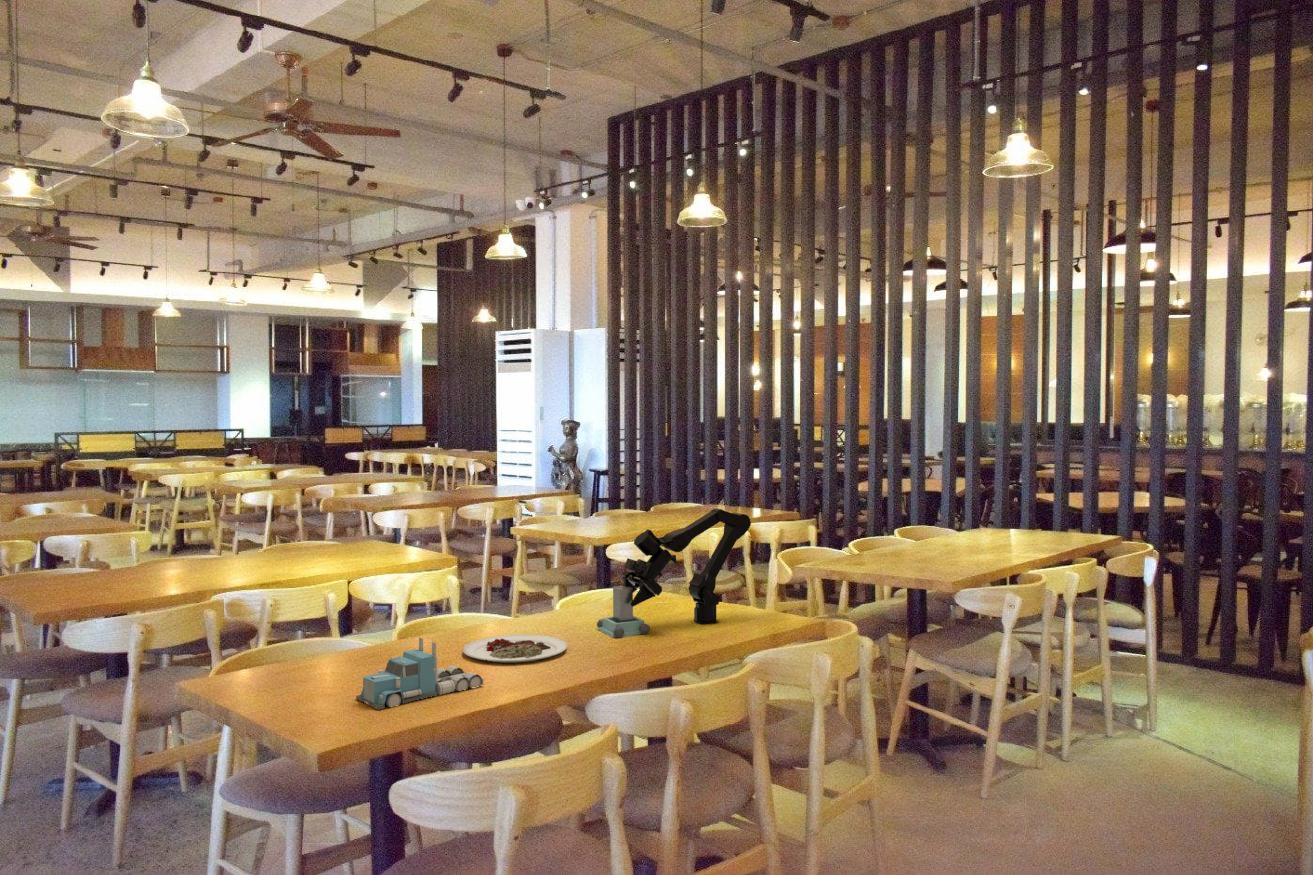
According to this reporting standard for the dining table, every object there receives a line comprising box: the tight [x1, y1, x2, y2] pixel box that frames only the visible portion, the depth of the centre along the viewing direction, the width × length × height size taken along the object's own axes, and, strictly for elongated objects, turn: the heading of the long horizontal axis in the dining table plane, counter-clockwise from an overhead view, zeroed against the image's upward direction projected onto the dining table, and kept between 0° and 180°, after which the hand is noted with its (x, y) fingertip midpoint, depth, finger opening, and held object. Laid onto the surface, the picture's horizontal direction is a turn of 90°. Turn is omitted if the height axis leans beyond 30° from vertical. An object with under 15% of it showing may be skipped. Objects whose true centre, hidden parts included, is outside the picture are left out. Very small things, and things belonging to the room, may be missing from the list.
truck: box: [355, 630, 484, 711], centre depth 238 cm, size 12×29×15 cm, turn 132°
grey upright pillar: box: [612, 585, 634, 623], centre depth 303 cm, size 4×5×13 cm
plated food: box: [462, 634, 568, 664], centre depth 279 cm, size 30×30×3 cm
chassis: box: [596, 615, 651, 639], centre depth 303 cm, size 12×14×4 cm
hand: (625, 603), depth 303 cm, fingers open, 9 cm apart
